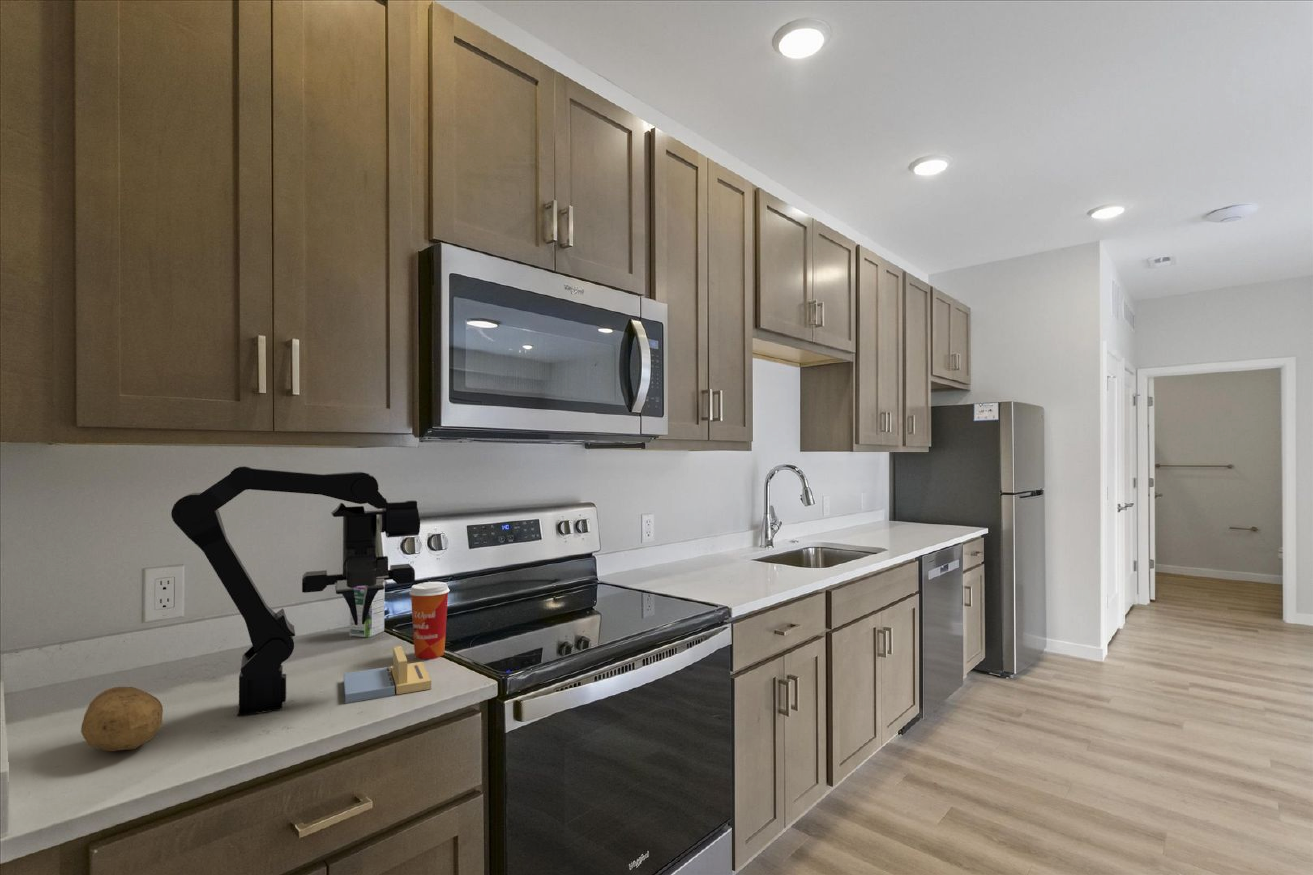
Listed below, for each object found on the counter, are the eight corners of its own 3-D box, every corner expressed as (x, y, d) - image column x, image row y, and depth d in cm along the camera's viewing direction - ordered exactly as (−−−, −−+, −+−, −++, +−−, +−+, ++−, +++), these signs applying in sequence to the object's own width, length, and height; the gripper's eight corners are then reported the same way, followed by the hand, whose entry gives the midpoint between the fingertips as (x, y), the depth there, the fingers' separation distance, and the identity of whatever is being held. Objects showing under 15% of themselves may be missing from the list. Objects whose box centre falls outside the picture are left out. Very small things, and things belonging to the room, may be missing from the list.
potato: (91, 775, 89) (91, 716, 89) (71, 745, 98) (72, 691, 98) (177, 749, 97) (177, 695, 97) (151, 723, 106) (152, 674, 106)
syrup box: (348, 636, 154) (348, 575, 155) (365, 629, 160) (365, 570, 160) (368, 638, 153) (368, 576, 153) (385, 631, 159) (385, 571, 159)
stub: (396, 694, 118) (396, 663, 118) (390, 674, 128) (390, 645, 128) (431, 688, 120) (431, 658, 120) (422, 669, 131) (422, 641, 131)
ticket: (345, 703, 114) (345, 693, 114) (343, 681, 124) (343, 672, 124) (394, 695, 117) (394, 685, 117) (388, 674, 128) (388, 666, 128)
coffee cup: (400, 657, 139) (400, 586, 139) (430, 647, 146) (430, 579, 146) (429, 663, 135) (429, 590, 135) (458, 652, 142) (458, 583, 142)
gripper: (301, 549, 109) (301, 642, 109) (418, 541, 118) (418, 628, 118) (303, 541, 119) (302, 626, 119) (411, 534, 128) (411, 614, 127)
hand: (359, 624), depth 120 cm, fingers closed
